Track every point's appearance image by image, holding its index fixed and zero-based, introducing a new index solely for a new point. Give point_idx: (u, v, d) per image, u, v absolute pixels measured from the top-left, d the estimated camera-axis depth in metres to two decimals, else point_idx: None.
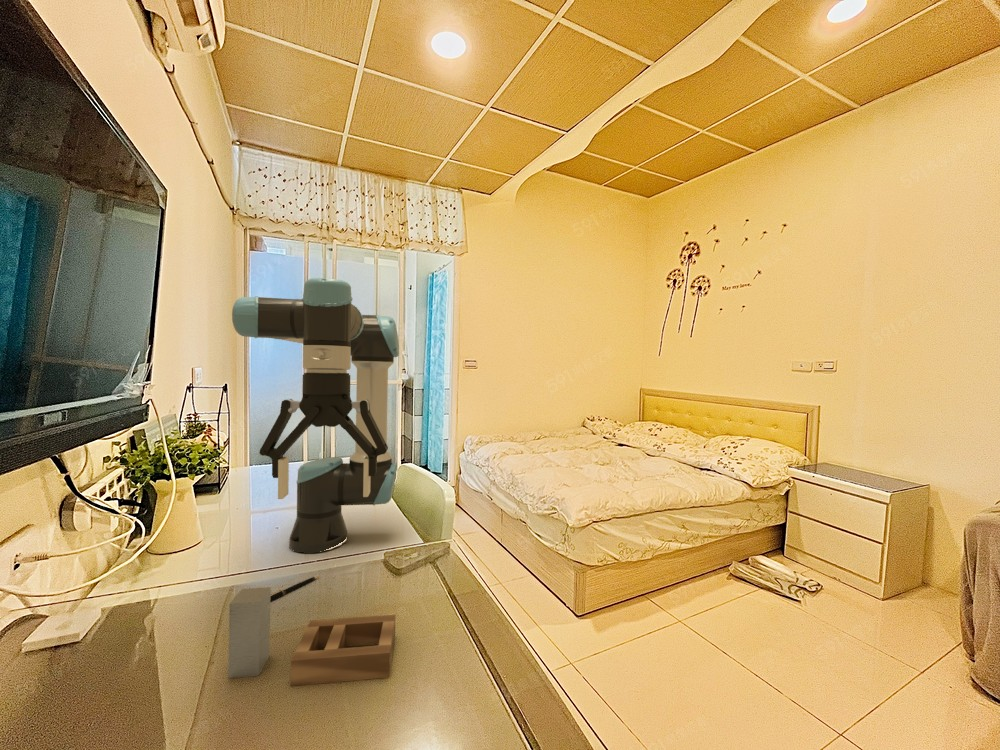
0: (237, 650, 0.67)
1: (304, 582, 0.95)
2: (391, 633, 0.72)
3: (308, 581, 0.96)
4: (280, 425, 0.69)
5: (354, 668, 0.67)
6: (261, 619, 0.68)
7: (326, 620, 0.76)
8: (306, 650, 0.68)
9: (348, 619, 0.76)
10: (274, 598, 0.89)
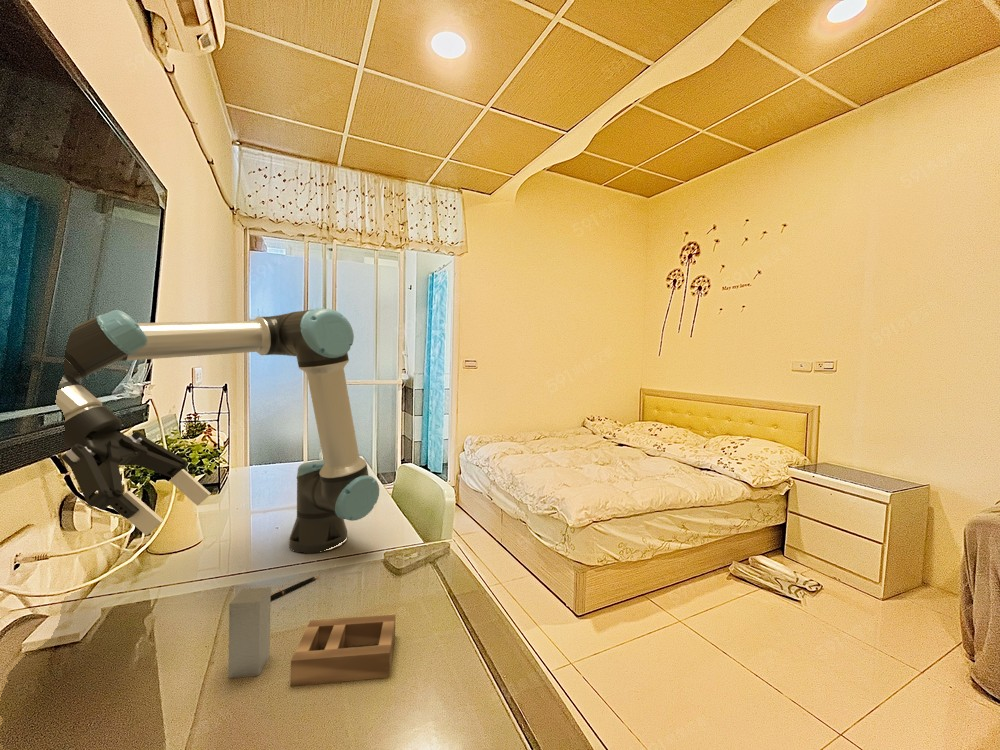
0: (237, 650, 0.67)
1: (304, 582, 0.95)
2: (391, 633, 0.72)
3: (308, 581, 0.96)
4: None
5: (354, 668, 0.67)
6: (261, 619, 0.68)
7: (326, 620, 0.76)
8: (306, 650, 0.68)
9: (348, 619, 0.76)
10: (273, 598, 0.89)
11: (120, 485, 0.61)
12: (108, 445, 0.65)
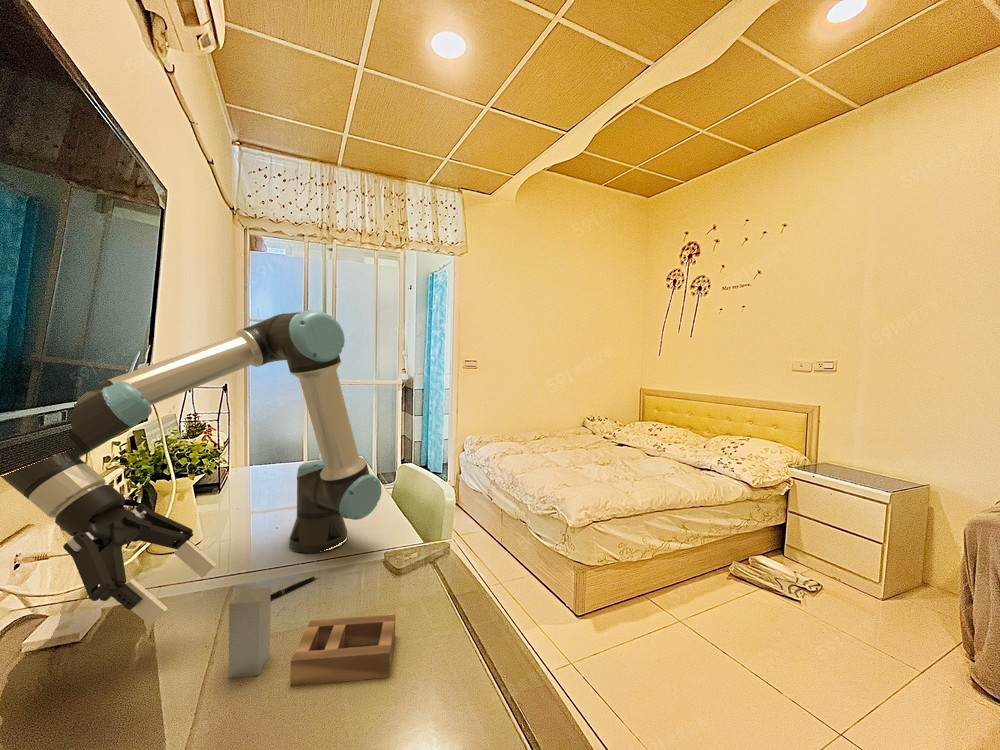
0: (237, 650, 0.67)
1: (304, 582, 0.95)
2: (391, 633, 0.72)
3: (308, 581, 0.96)
4: None
5: (354, 668, 0.67)
6: (261, 619, 0.68)
7: (326, 620, 0.76)
8: (306, 650, 0.68)
9: (348, 619, 0.76)
10: (273, 597, 0.89)
11: (123, 573, 0.60)
12: (111, 527, 0.63)
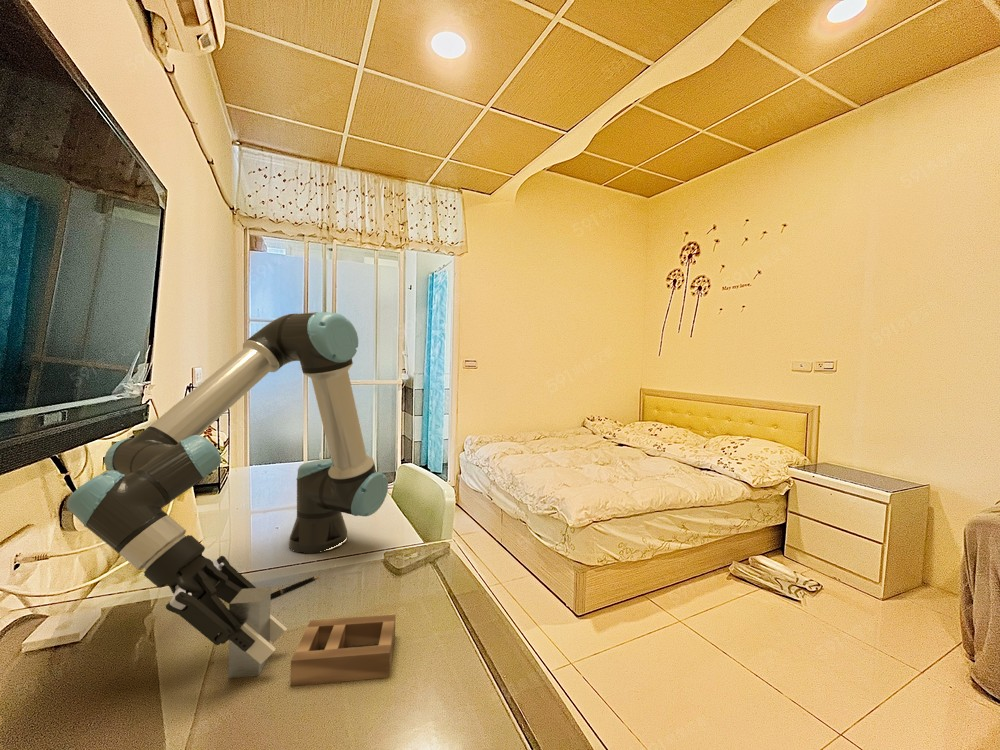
0: (236, 650, 0.67)
1: (303, 582, 0.95)
2: (391, 633, 0.72)
3: (307, 581, 0.96)
4: None
5: (354, 668, 0.67)
6: (261, 619, 0.68)
7: (326, 620, 0.76)
8: (306, 650, 0.68)
9: (348, 619, 0.76)
10: (272, 597, 0.89)
11: (234, 618, 0.66)
12: (198, 579, 0.66)
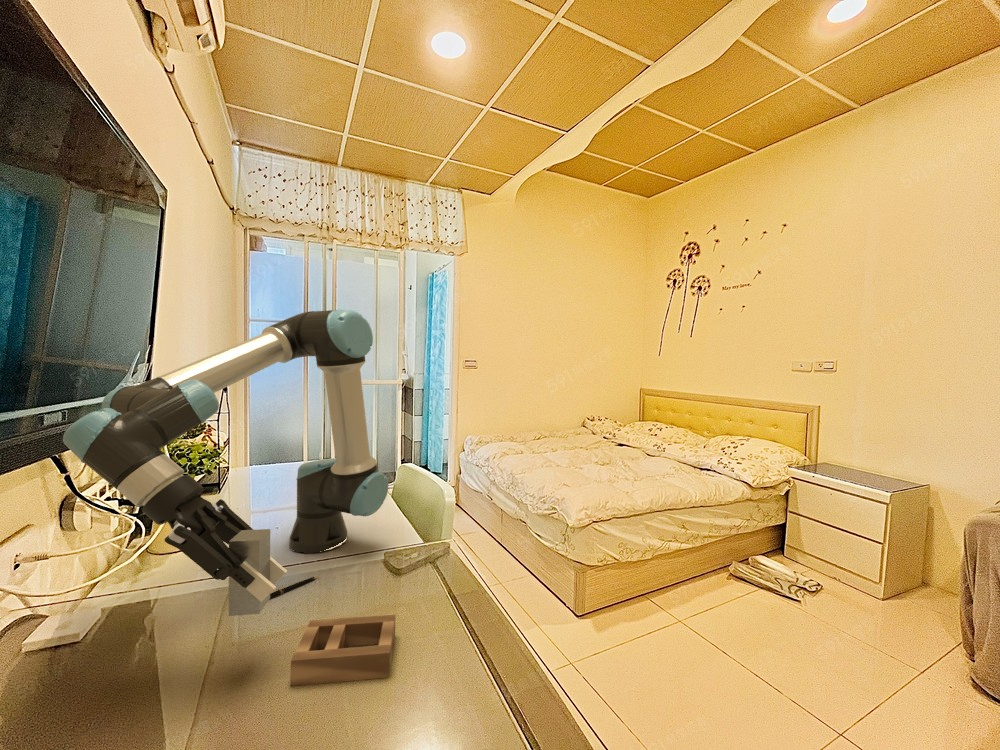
0: (237, 588, 0.66)
1: (303, 582, 0.95)
2: (391, 633, 0.72)
3: (307, 581, 0.96)
4: None
5: (354, 668, 0.67)
6: (261, 558, 0.68)
7: (326, 620, 0.76)
8: (306, 650, 0.68)
9: (348, 619, 0.76)
10: (271, 596, 0.89)
11: (234, 555, 0.66)
12: (196, 516, 0.65)
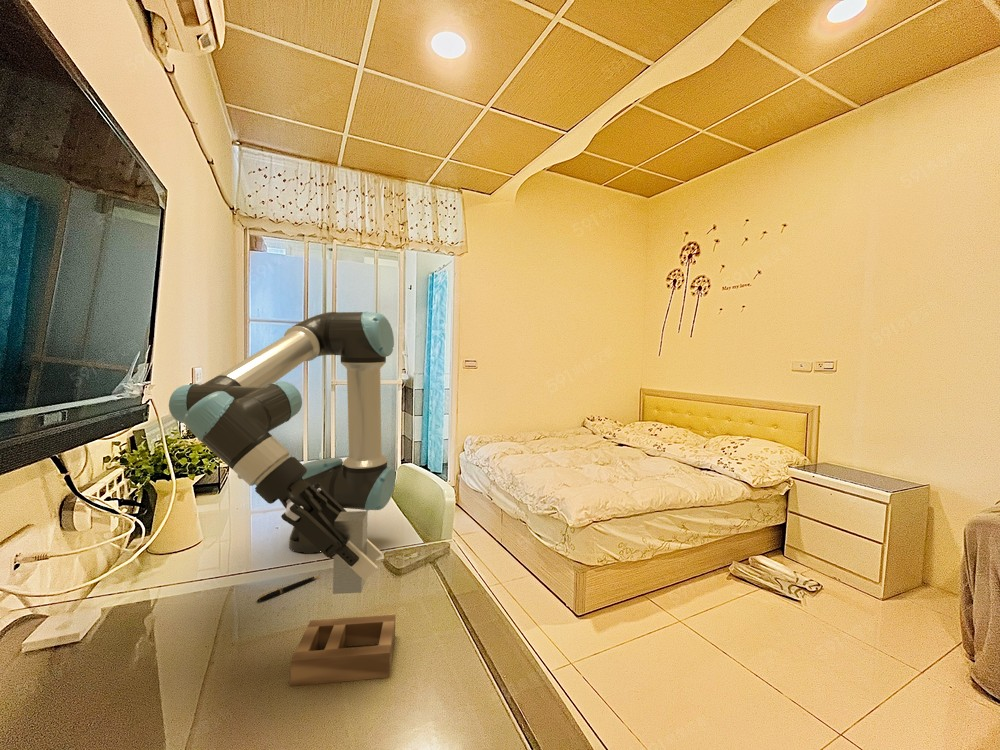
0: (341, 567, 0.68)
1: (303, 581, 0.95)
2: (391, 633, 0.72)
3: (307, 580, 0.96)
4: None
5: (354, 668, 0.67)
6: (363, 538, 0.70)
7: (326, 620, 0.76)
8: (306, 650, 0.68)
9: (348, 619, 0.76)
10: (271, 596, 0.89)
11: (340, 535, 0.68)
12: (305, 496, 0.68)
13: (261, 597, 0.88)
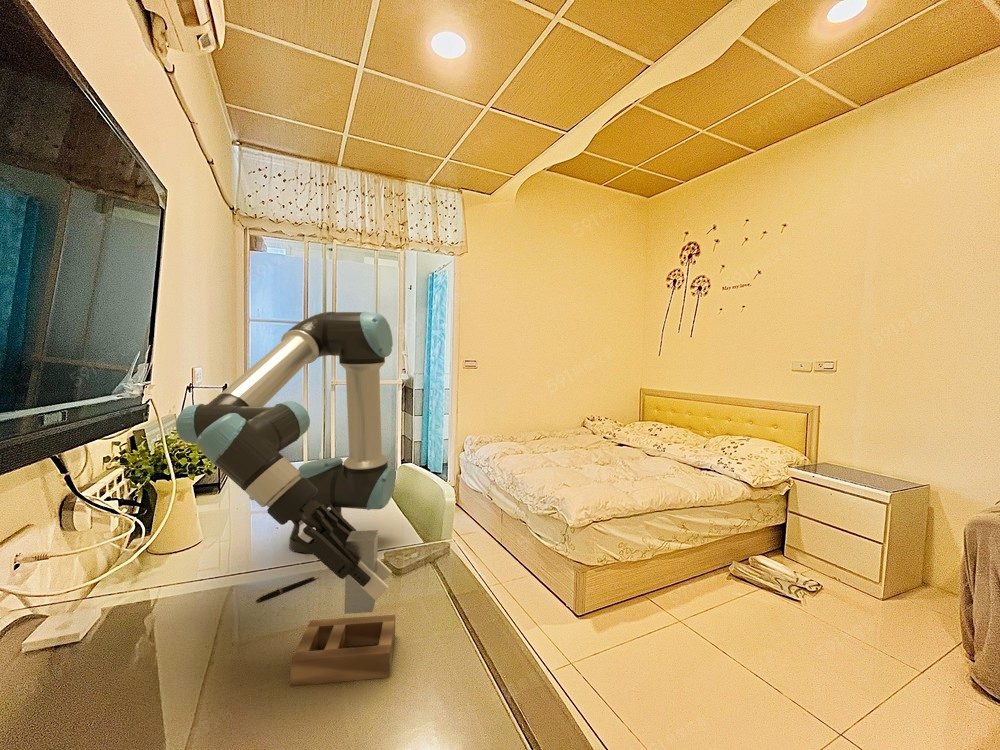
0: (352, 587, 0.69)
1: (303, 581, 0.95)
2: (391, 633, 0.72)
3: (307, 581, 0.96)
4: None
5: (354, 668, 0.67)
6: (374, 558, 0.70)
7: (326, 620, 0.76)
8: (306, 650, 0.68)
9: (348, 619, 0.76)
10: (270, 596, 0.89)
11: (351, 555, 0.68)
12: (316, 517, 0.68)
13: (261, 597, 0.88)
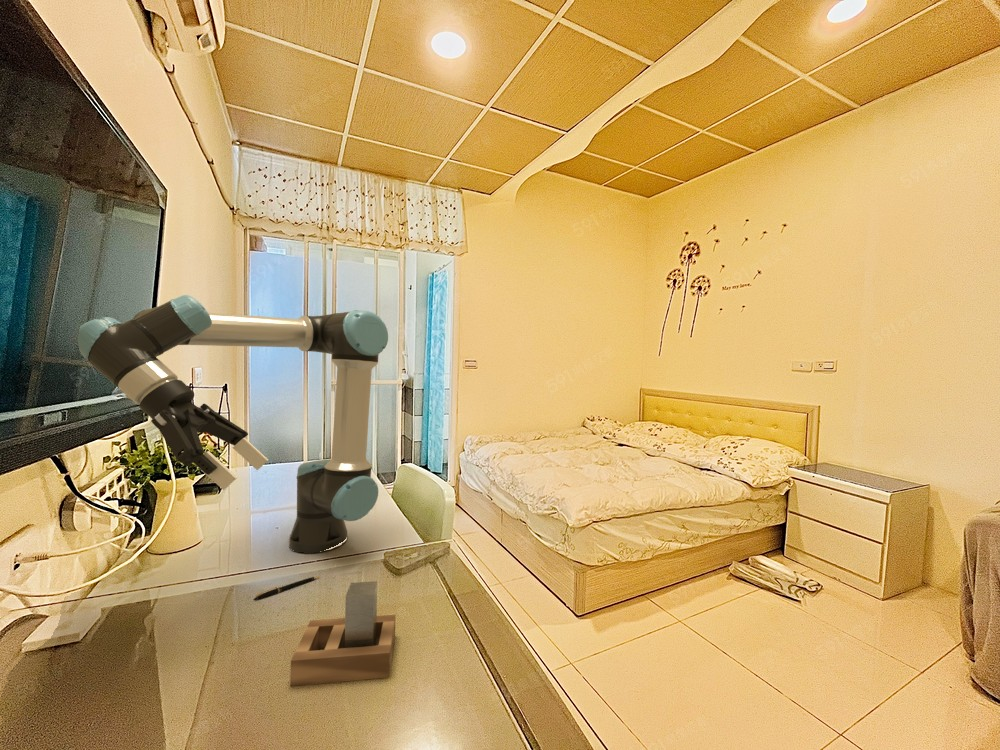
0: (352, 641, 0.69)
1: (302, 581, 0.95)
2: (391, 633, 0.72)
3: (306, 580, 0.96)
4: None
5: (354, 668, 0.67)
6: (373, 611, 0.71)
7: (326, 620, 0.76)
8: (306, 650, 0.68)
9: None
10: (268, 595, 0.90)
11: (201, 446, 0.70)
12: (186, 412, 0.74)
13: (259, 595, 0.89)
